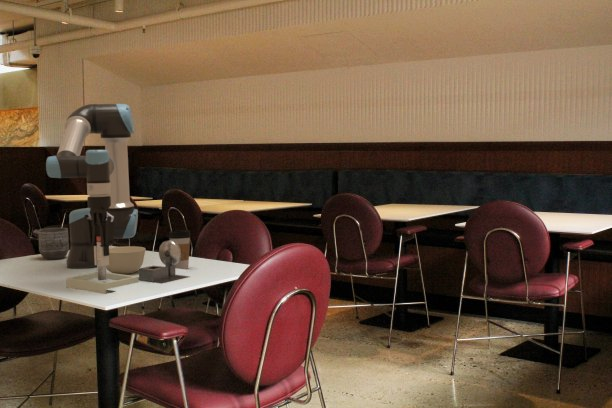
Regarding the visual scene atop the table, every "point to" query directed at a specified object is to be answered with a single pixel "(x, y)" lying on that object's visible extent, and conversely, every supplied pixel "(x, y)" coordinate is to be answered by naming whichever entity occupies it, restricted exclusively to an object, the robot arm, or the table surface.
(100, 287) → the tray
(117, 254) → the bowl
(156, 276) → the block
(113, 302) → the table surface
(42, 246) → the planter
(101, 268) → the pin
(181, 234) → the coffee cup
